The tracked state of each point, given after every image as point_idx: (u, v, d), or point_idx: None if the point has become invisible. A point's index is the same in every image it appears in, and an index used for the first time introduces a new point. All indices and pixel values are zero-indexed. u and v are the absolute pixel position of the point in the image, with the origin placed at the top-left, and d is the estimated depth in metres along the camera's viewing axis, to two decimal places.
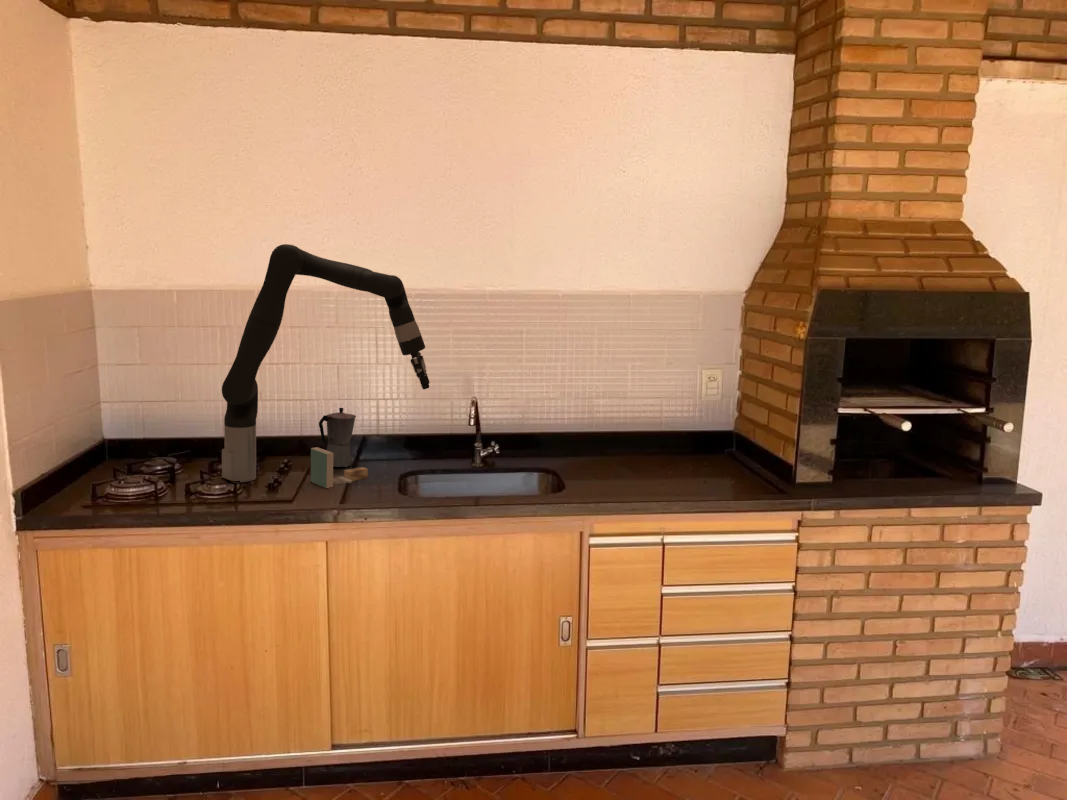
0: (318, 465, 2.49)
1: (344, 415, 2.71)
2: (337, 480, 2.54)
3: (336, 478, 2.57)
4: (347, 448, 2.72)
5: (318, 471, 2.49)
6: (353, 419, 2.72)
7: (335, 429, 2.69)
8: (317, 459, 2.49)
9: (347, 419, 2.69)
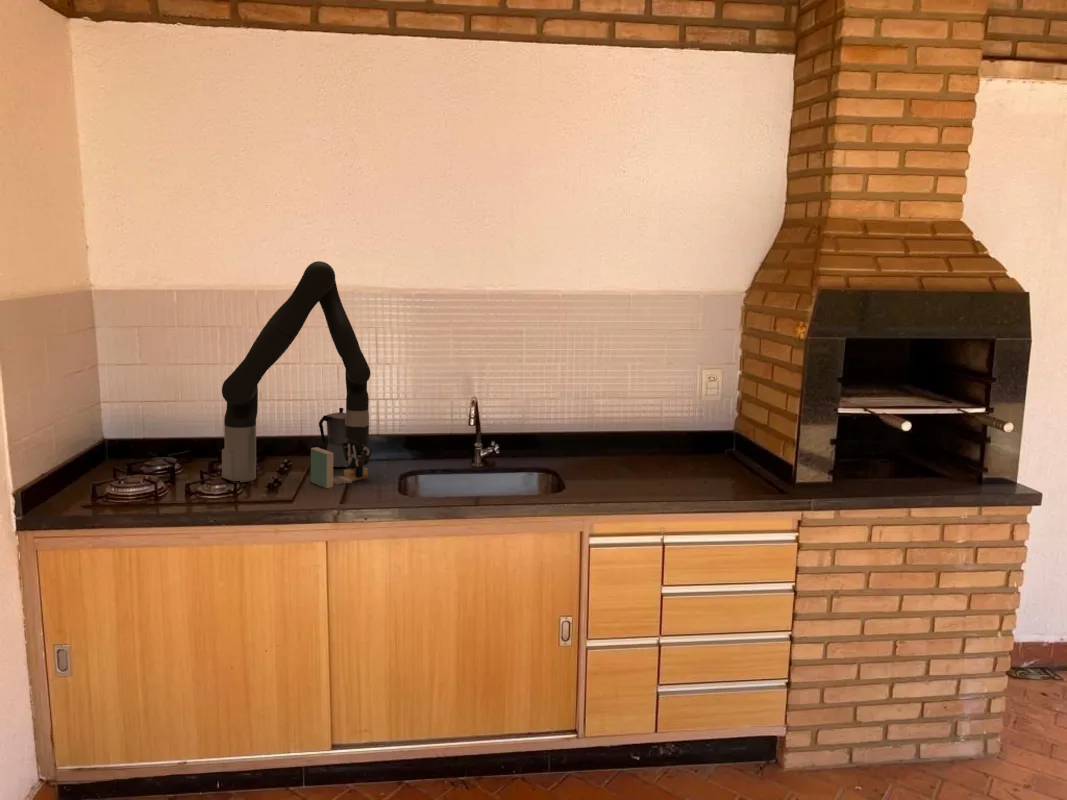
0: (318, 465, 2.49)
1: (344, 415, 2.71)
2: (337, 480, 2.54)
3: (336, 478, 2.57)
4: None
5: (318, 471, 2.49)
6: None
7: (335, 429, 2.69)
8: (317, 459, 2.49)
9: None
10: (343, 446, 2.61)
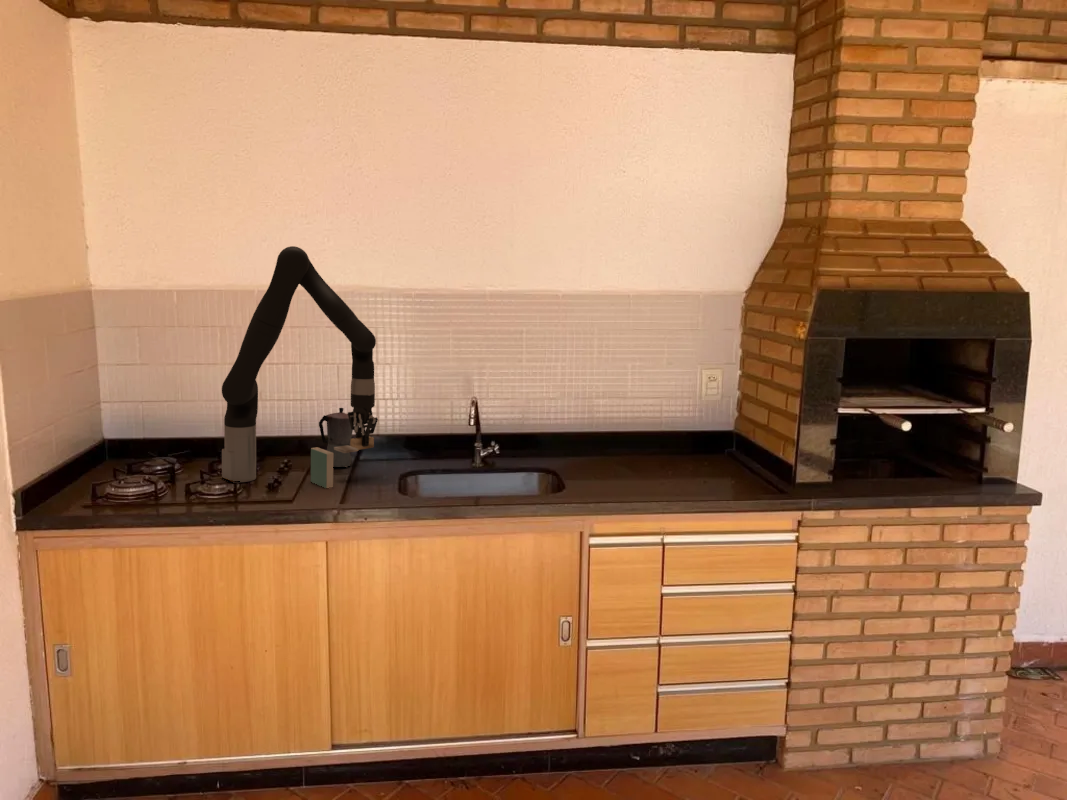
0: (318, 465, 2.49)
1: (344, 415, 2.71)
2: (343, 448, 2.54)
3: (343, 446, 2.56)
4: None
5: (318, 471, 2.49)
6: None
7: (335, 429, 2.69)
8: (317, 459, 2.49)
9: (347, 419, 2.69)
10: (349, 415, 2.61)
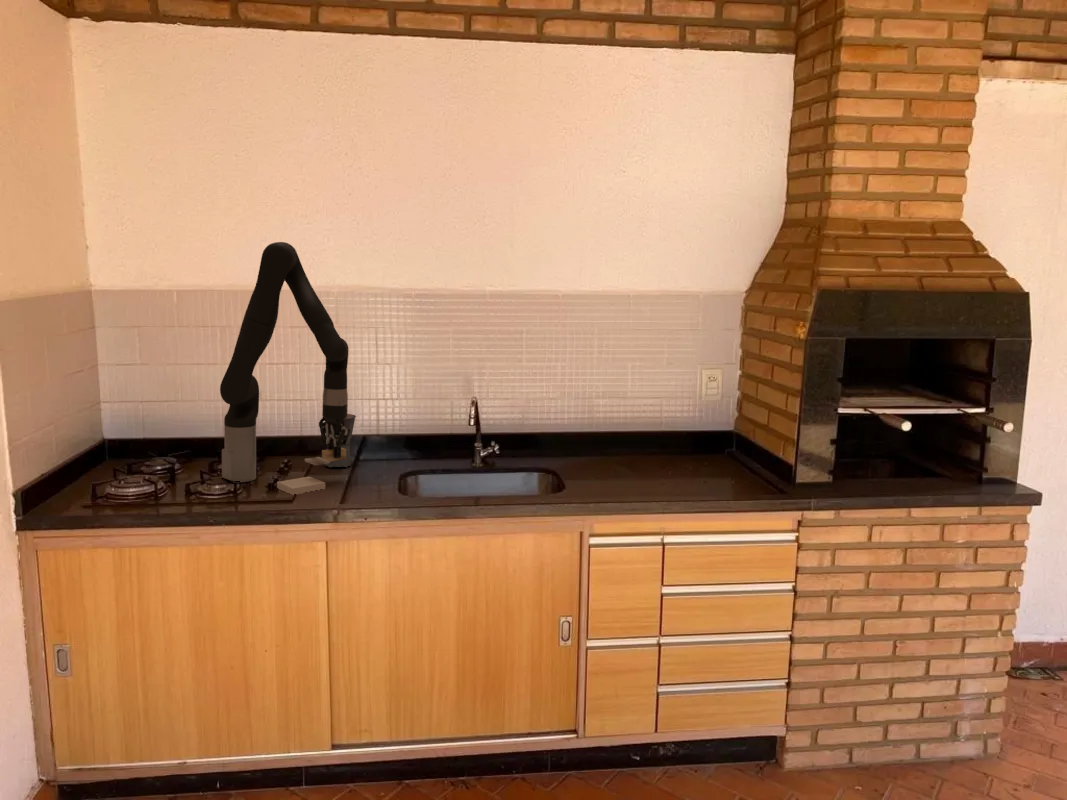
0: None
1: None
2: (314, 460, 2.47)
3: (314, 458, 2.50)
4: (347, 448, 2.72)
5: None
6: (353, 419, 2.72)
7: None
8: None
9: (347, 419, 2.69)
10: (321, 426, 2.54)
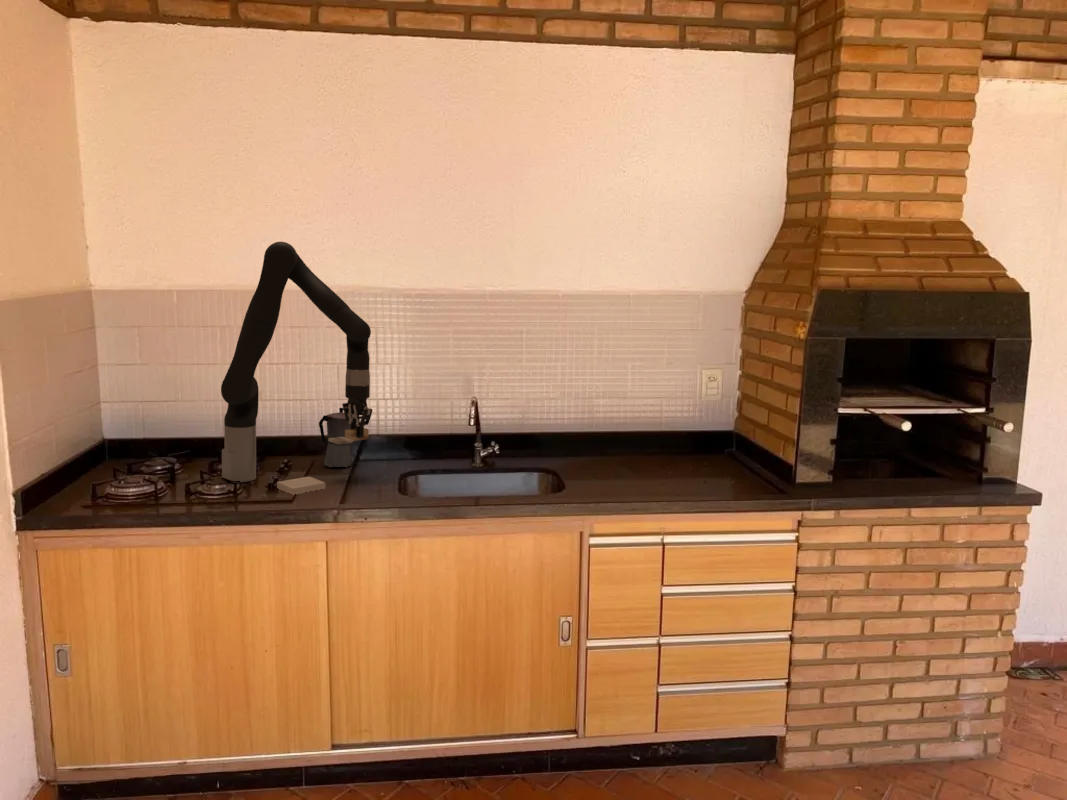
0: None
1: (344, 415, 2.71)
2: (338, 439, 2.52)
3: (337, 438, 2.54)
4: (347, 448, 2.72)
5: None
6: None
7: (336, 429, 2.69)
8: None
9: None
10: (344, 407, 2.59)
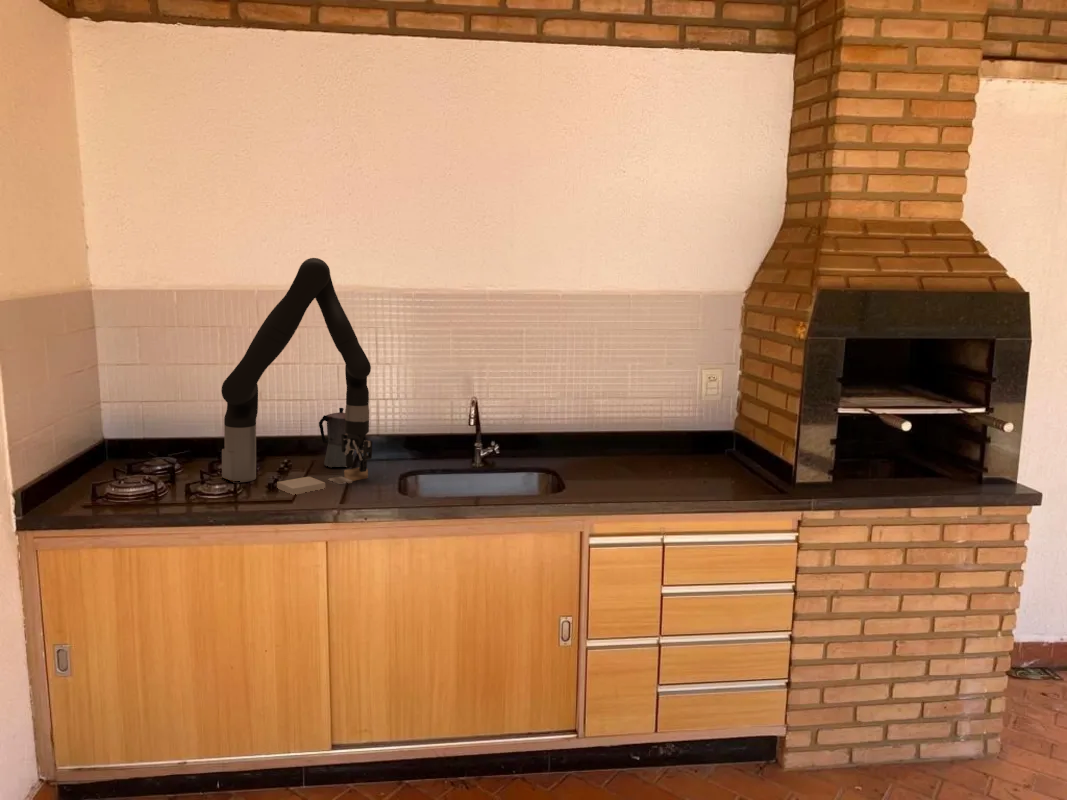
0: None
1: (344, 415, 2.71)
2: (337, 480, 2.54)
3: (337, 478, 2.57)
4: None
5: None
6: None
7: (336, 429, 2.69)
8: None
9: None
10: (342, 437, 2.61)
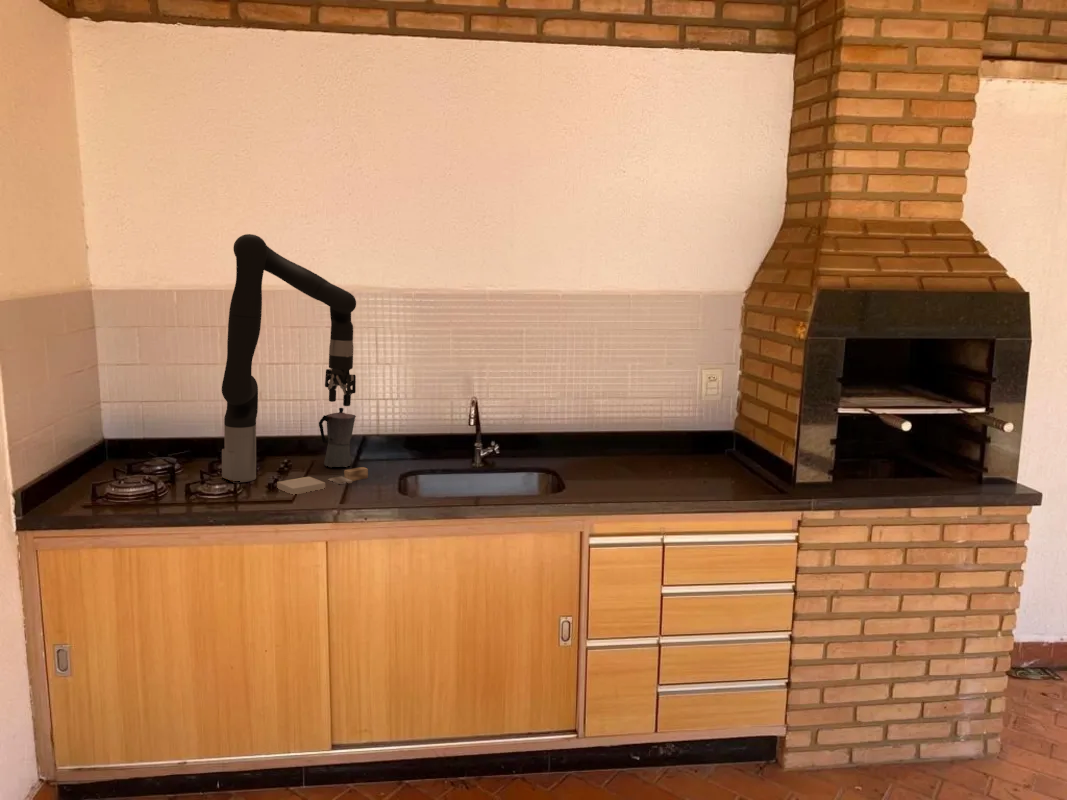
0: None
1: (344, 415, 2.71)
2: (337, 480, 2.54)
3: (337, 478, 2.57)
4: (347, 448, 2.72)
5: None
6: (353, 419, 2.72)
7: (335, 429, 2.69)
8: None
9: (347, 419, 2.69)
10: (326, 373, 2.63)
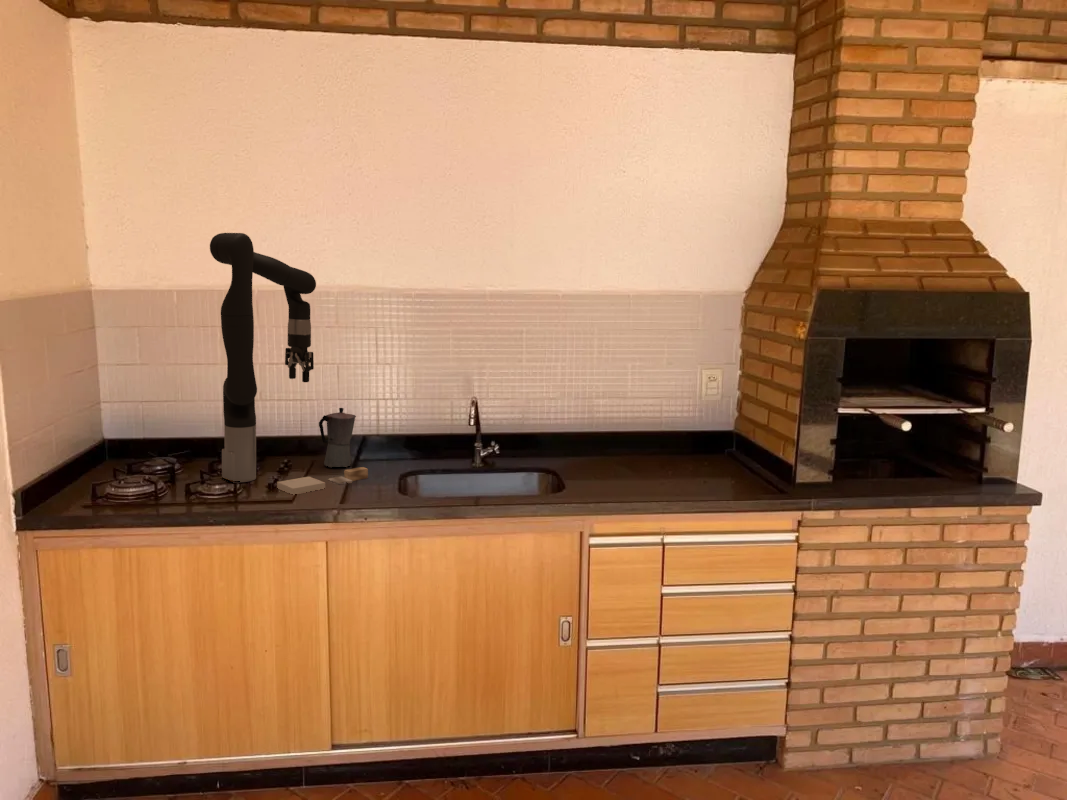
0: None
1: (344, 415, 2.71)
2: (337, 480, 2.54)
3: (337, 478, 2.57)
4: (347, 448, 2.72)
5: None
6: (353, 419, 2.72)
7: (335, 429, 2.69)
8: None
9: (347, 419, 2.69)
10: (286, 351, 2.75)
